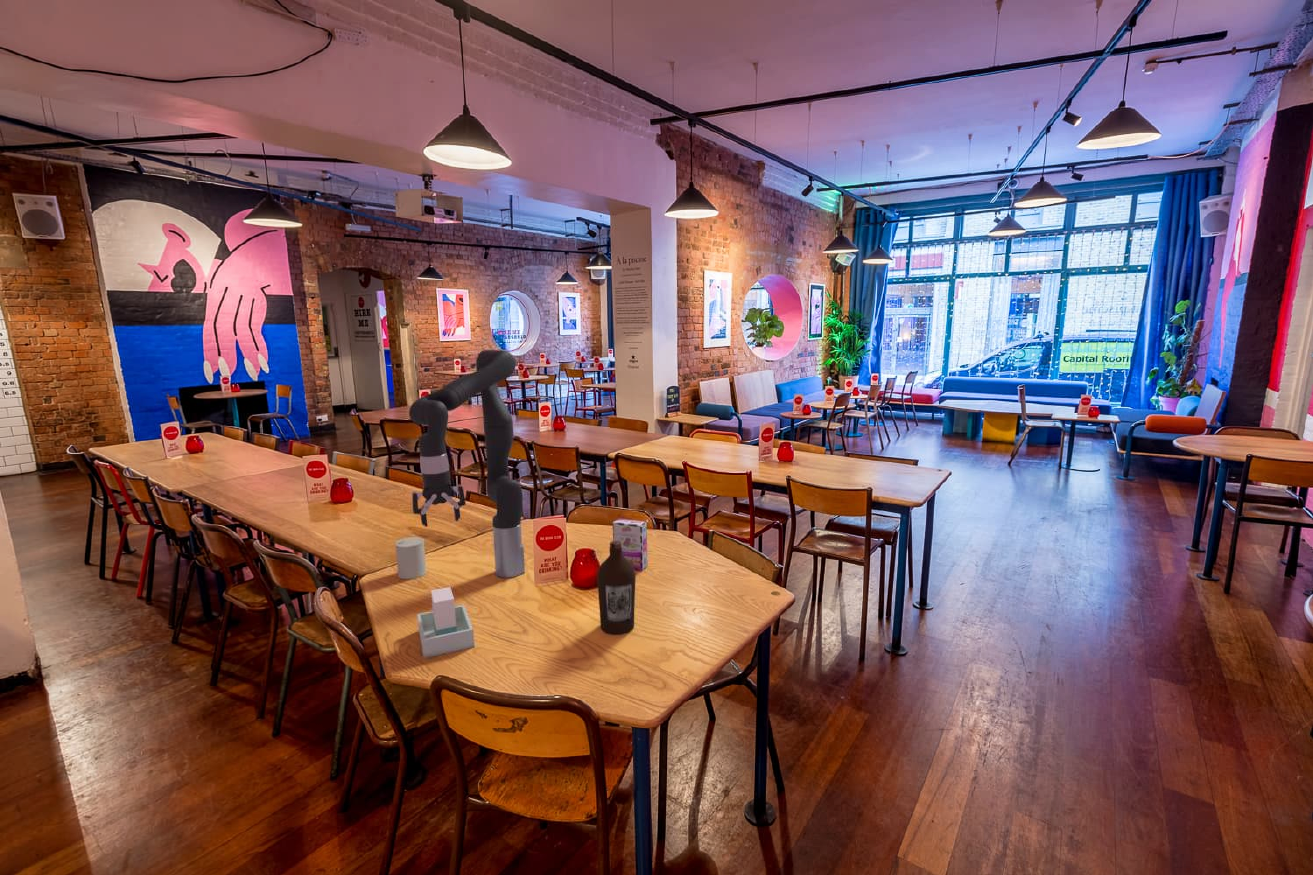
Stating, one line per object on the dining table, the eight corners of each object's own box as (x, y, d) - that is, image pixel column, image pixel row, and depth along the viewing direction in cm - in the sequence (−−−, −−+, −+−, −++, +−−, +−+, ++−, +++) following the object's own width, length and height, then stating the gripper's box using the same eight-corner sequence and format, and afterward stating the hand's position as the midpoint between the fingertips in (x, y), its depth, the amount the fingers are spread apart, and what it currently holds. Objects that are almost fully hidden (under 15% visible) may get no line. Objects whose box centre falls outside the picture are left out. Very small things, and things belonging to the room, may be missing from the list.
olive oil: (596, 620, 172) (593, 537, 167) (632, 615, 174) (631, 534, 169) (601, 638, 162) (598, 551, 157) (639, 634, 164) (638, 547, 159)
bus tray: (465, 620, 172) (464, 604, 171) (474, 646, 158) (473, 629, 157) (418, 630, 167) (417, 614, 166) (423, 658, 153) (422, 640, 152)
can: (397, 570, 207) (394, 537, 205) (426, 566, 210) (423, 534, 208) (397, 581, 199) (394, 547, 196) (427, 576, 202) (424, 542, 200)
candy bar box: (648, 566, 209) (647, 521, 206) (642, 571, 205) (641, 525, 202) (619, 561, 213) (618, 517, 210) (613, 566, 209) (611, 522, 206)
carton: (453, 626, 167) (450, 586, 165) (457, 640, 160) (454, 598, 157) (434, 631, 165) (430, 590, 162) (437, 645, 158) (433, 602, 155)
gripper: (458, 462, 177) (464, 514, 181) (407, 470, 171) (413, 523, 175) (463, 468, 171) (468, 522, 174) (409, 476, 165) (416, 531, 168)
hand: (441, 523), depth 175 cm, fingers open, 8 cm apart
